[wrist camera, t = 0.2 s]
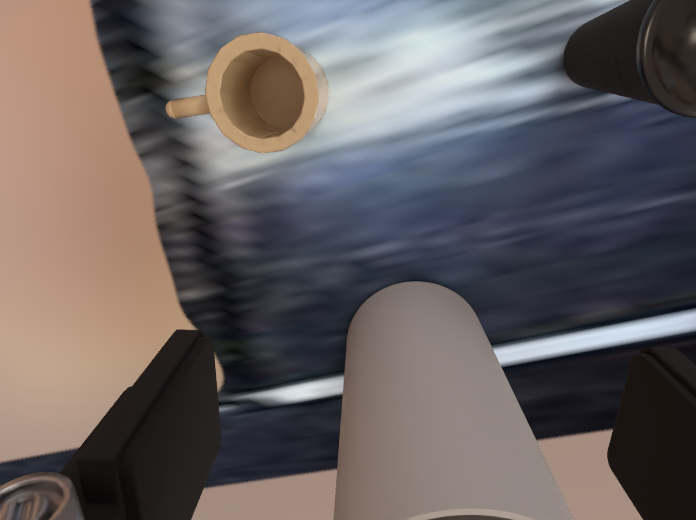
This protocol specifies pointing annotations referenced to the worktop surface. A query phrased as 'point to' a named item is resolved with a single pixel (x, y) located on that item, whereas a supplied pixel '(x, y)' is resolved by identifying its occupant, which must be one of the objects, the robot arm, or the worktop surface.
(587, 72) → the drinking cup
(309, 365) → the worktop surface
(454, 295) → the taupe cylinder
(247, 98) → the wooden mug
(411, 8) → the worktop surface
